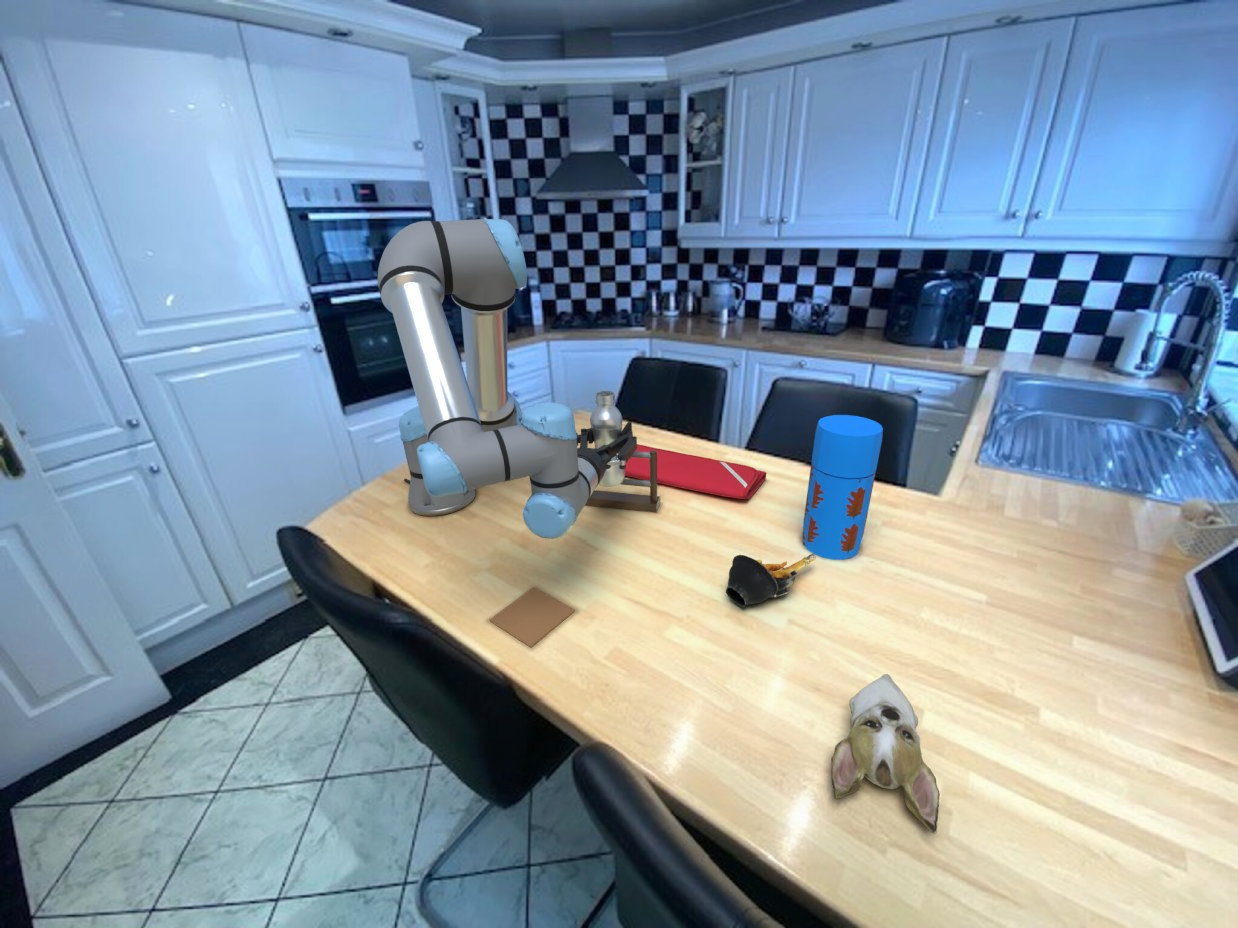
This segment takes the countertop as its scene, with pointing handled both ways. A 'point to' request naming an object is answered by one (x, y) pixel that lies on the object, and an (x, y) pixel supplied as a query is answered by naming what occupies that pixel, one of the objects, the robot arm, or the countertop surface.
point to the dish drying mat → (698, 473)
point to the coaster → (532, 616)
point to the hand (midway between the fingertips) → (614, 426)
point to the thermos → (840, 485)
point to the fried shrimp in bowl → (760, 579)
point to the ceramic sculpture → (885, 750)
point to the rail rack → (631, 500)
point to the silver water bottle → (607, 432)
